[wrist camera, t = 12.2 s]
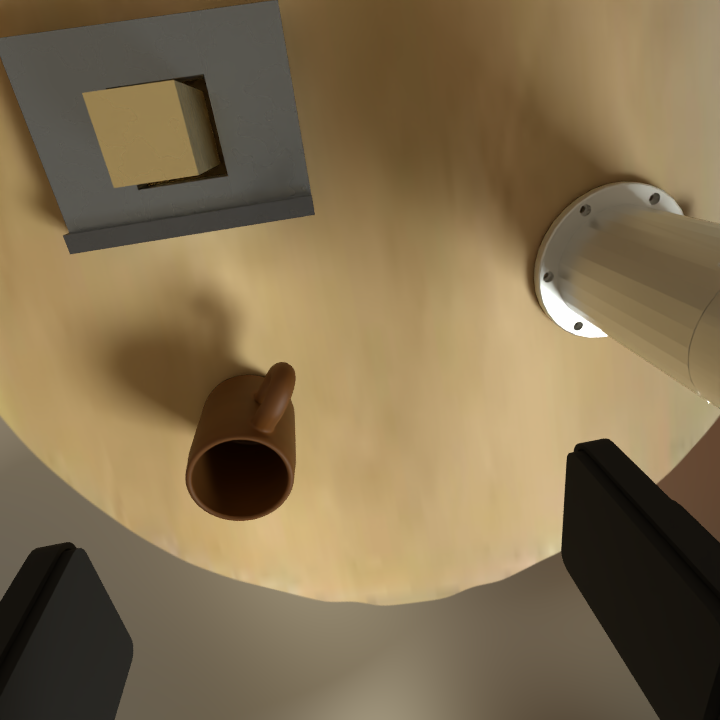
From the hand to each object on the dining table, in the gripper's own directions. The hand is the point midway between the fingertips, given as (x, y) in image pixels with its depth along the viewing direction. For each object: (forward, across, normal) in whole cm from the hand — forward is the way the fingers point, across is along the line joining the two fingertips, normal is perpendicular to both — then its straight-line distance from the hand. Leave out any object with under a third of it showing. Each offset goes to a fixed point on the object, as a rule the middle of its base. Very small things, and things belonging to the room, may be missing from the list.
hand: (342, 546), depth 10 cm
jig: (+30, +7, -8) cm, 32 cm away
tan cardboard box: (+30, +7, -8) cm, 32 cm away
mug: (+31, +6, +12) cm, 33 cm away
